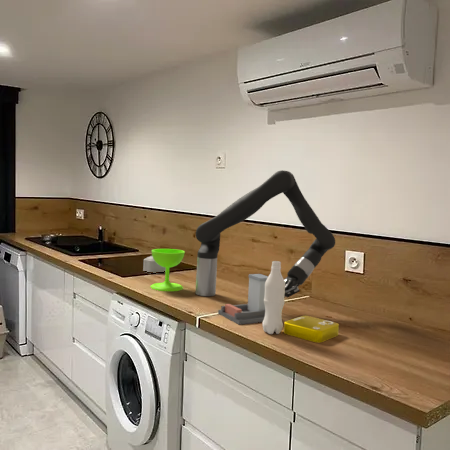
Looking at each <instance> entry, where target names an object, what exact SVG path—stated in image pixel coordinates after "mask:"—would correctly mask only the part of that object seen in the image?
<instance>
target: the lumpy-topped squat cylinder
mask: <svg viewBox="0 0 450 450" xmlns="http://www.w3.org/2000/svg"><path fill="white" fill-rule="evenodd" d="M142 268H143V269H142V271H147V272H153V273H156V272H164V271H165V270H166V267H162V266H160V265H159V264H157V263H156V262H155V260H154V259H153V256H152V255H150V256H147V257H146V258H144V259H143V267H142ZM147 272H146V273H147ZM164 273H165V272H164ZM156 274H157V273H156Z"/></svg>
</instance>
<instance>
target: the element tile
mask: <svg viewBox="0 0 450 450" xmlns="http://www.w3.org/2000/svg"><path fill="white" fill-rule="evenodd" d="M283 323H284V324H283V334H285V335H288V336H291V337H294V338H298V339H301V340H305V341H309V342H313V343H323V342H326V341H329V340H330V339H333V338H335V337H338V336H339V330H340V329H339V326H340V324H339V323H338V322H334V321H331V320H326V319H323V318H318V317H314V316H310V315H306V314H305V315H302V316H298V317H294V318H292V319H289V320H284V322H283Z"/></svg>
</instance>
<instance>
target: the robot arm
mask: <svg viewBox="0 0 450 450" xmlns="http://www.w3.org/2000/svg"><path fill="white" fill-rule="evenodd" d="M281 194H283V195H284V196H285V197H286V198H287V199H288V201H289V203H291V205H292V207H293V209H294V211H295V214H296V216H297V218H298V220H299V221H300V223H301V224H302V226H303V227H304V229H305V230H306V232H307V233H308V234H310V235H311V234H312V235H313V236H314V237H315V239H314V240H313V242H312V243H311V244H310V246H309V248H308V249H307V250H306V251H305V252H304V253H303V255H302V256H301V257H300V258H299V259H298V260H297V261H296V262H295V263H294V265H292V266H291V268H290V269H289V270H288V272H286V273H287V274H286V275H287V276H286V277H285V278H283V279H284V281H285V294H284V299H285V298H288V299H289V298H290V297H291V296H294V295H295V294H297V293H299V292H300V291H301V290H300V289H299V287H300V286H302V285H304V284H305V281H306V280H307V279H308V278H309V277H310V276H311V274H312V273H313V271H314V269H316V267H317V266H318V265H319V263H320V262H321V261H322V258H323V256H324V255H325V254H326V253H327V252H328V251H329V250H331V249H333V248H334V247H335V246H336V238H335V236H334V234H333V233H332V231H330V229H328V228H327V226H326V225H324V224H323V223H322V222H321V220H320V218H319V217H318V216H317V214H316V213H315V210H314V209H313V208H312V207H311V205H310V204H309V203H308V200H307V199H306V198H305V196H304V194H303V193H302V191H301V189H300V187H299V185H298V181H296V177H295V176H294V174H293V173H292V172H290V171H289V170H278V171H275V172H274V173H273V174H272V175H271V176H269V178H267V179H266V180H265V181H264V182H263V183H261V184H260V185H258V186H257V187H256V188H255V189H254V188H253V190H251V191H249V192H248V193H246V194H244V195H242V196H241V197H239V198H238V199H237V200H235V201H234V202H232V203H231V204H230V205H229V206H227V207H226V208H225V209H223V210H222V211H220V213H218V214H217V215H216V216H214V217H212V218H210V219H209V220H207V221H205V222H203V223H201V224H200V225H199V226H198V227H197V228H196V230H195V238H196V240H197V241H199V242H200V243H201V244H200V248H199V249H198V251H197V256H196V257H197V258H196V259H197V260H196V274H195V275H196V276H195V292H194V293H195V295H197V296H200V297H214V296H216V290H217V271H218V269H217V268H218V254H219V251H220V245H221V243H220V242H221V233H222V232H224V231H225V230H226V229H229V228H231V227H233V226H235V225H239V224H240V223H241V222H244V221H245V220H247V219H248V218H250V217H251V216H253V215H255V213H257V212H258V211H260V209H261V208H262V207H263V206H264V205H265V204H266V203H267V202H268V201H270V200H271V199H274V197H276V196H279V195H281Z"/></svg>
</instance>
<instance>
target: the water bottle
mask: <svg viewBox="0 0 450 450" xmlns="http://www.w3.org/2000/svg"><path fill="white" fill-rule="evenodd" d="M281 265H282V262H281V261H278V260H273V261H271V267H270V273H269V275H268V278H267V280H266V282H265V296H264V304H265V317H264V320H263V322H261V323H262V329H263V332H264V333H267V334H268V335H273V334H274V333H275V334H276V335H280V334H281V333H282V330H283V329H284V324H283V323H284V322H283V319H282V313H283V309H284V305H285V298H284V294H285V281H284V279H285V278H284V276H283V275H282V271H281V270H282V267H281Z"/></svg>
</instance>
